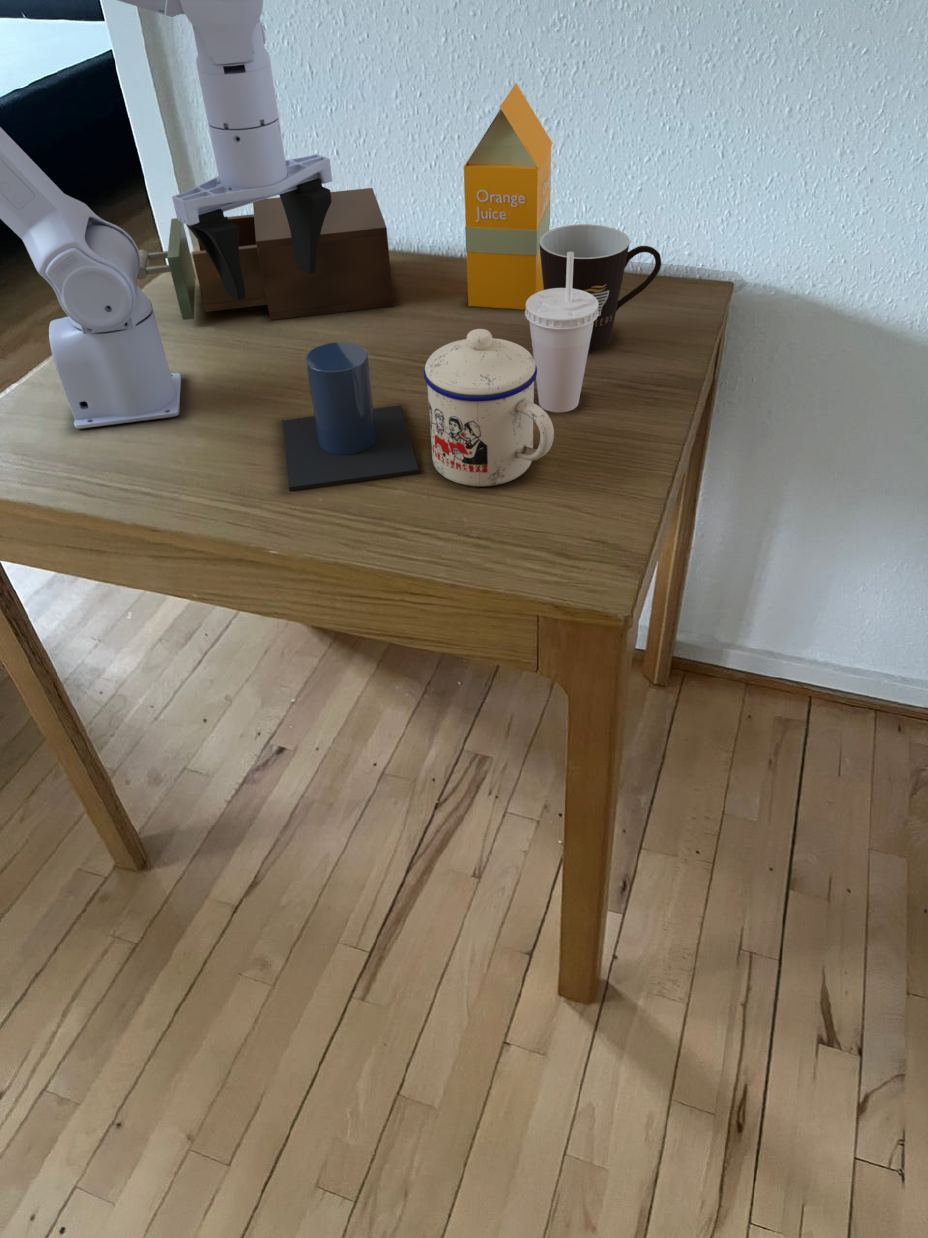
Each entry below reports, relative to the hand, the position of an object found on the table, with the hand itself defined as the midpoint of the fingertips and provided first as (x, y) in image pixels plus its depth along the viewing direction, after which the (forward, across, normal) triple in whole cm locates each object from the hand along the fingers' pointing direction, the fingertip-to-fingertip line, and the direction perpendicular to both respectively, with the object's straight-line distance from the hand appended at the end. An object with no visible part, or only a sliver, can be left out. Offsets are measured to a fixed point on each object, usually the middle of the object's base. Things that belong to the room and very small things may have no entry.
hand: (272, 282), depth 87 cm
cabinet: (+10, -15, -15) cm, 24 cm away
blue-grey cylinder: (+10, +3, +13) cm, 16 cm away
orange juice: (+10, -29, +1) cm, 31 cm away
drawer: (+9, -5, -21) cm, 24 cm away
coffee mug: (+10, -27, +15) cm, 33 cm away
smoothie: (+10, -16, +22) cm, 28 cm away
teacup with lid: (+10, -4, +25) cm, 27 cm away
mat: (+10, +3, +14) cm, 17 cm away
